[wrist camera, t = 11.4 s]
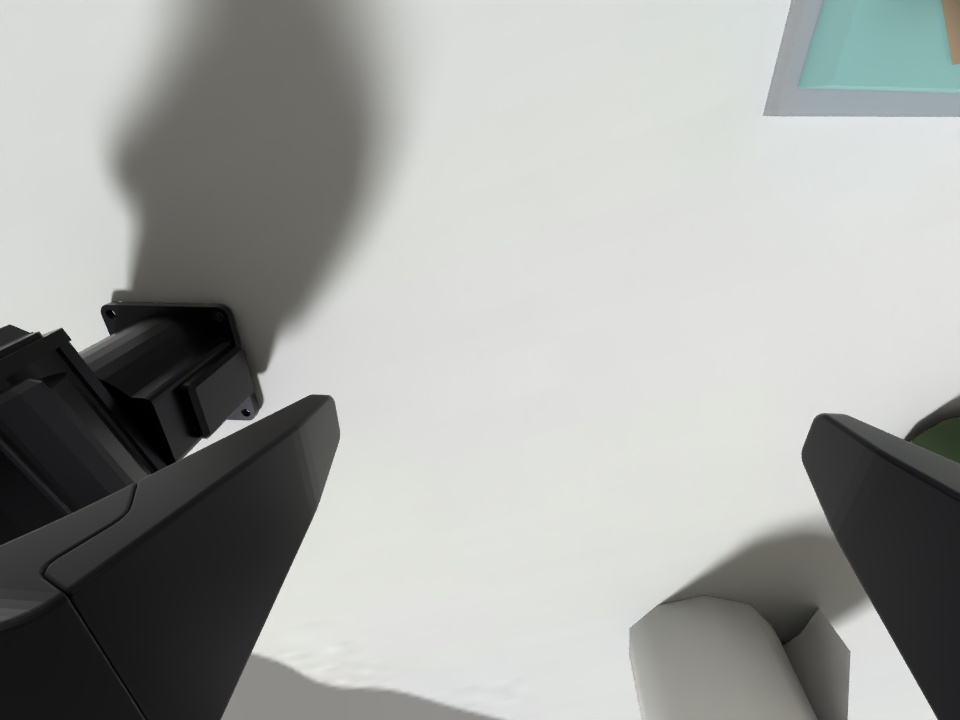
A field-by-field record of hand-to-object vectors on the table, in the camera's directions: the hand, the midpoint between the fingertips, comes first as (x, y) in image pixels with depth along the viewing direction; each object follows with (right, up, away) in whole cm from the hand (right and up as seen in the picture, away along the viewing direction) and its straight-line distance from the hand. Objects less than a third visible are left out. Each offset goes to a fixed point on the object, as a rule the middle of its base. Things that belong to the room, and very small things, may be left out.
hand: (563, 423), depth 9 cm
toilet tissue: (+14, -17, +23) cm, 32 cm away
